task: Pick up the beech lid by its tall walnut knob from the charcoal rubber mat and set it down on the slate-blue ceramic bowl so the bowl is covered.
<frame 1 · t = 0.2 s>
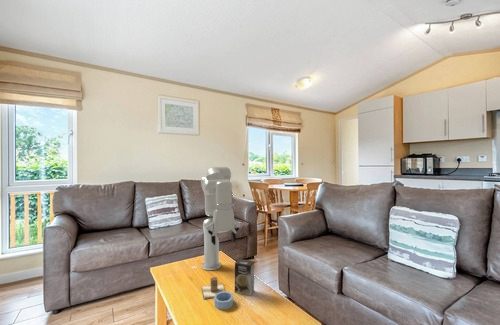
hand: (223, 242, 113), 30 cm above the table, fingers open, 9 cm apart
mat: (213, 292, 124), on the table
coffee box: (244, 292, 125), on the table
lid: (213, 291, 124), point 1 cm above the table, touching mat
bowl: (223, 304, 114), on the table
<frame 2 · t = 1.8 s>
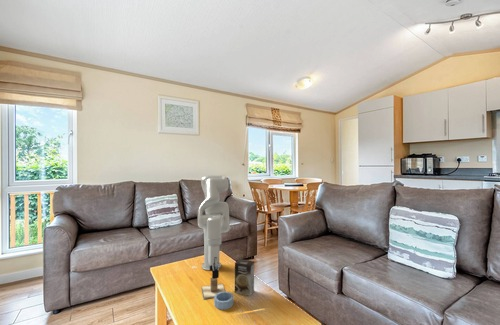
hand: (214, 273, 124), 10 cm above the table, fingers open, 9 cm apart
nothing on the table moved.
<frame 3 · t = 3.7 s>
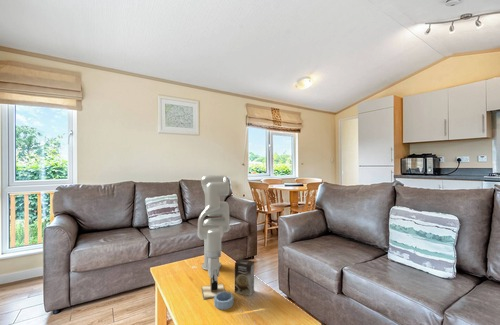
hand: (213, 287, 124), 3 cm above the table, fingers closed on lid, 3 cm apart
lid: (213, 291, 124), point 1 cm above the table, touching gripper, mat
everything else where it was.
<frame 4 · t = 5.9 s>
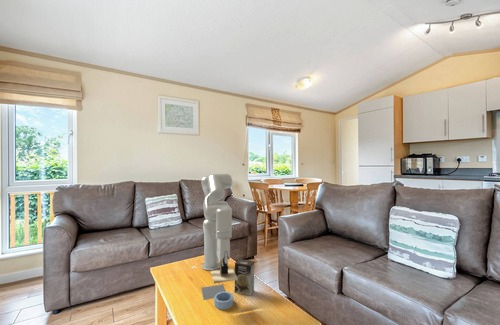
hand: (223, 271, 114), 16 cm above the table, fingers closed on lid, 3 cm apart
lid: (223, 276, 114), point 14 cm above the table, touching gripper
everything else where it was.
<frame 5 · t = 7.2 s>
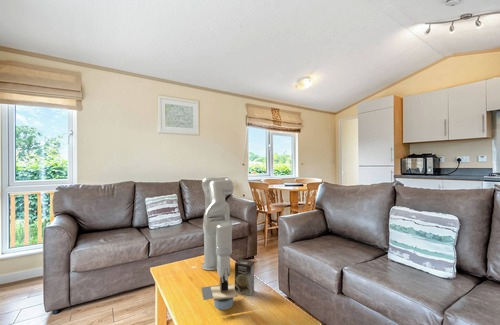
hand: (223, 287, 114), 8 cm above the table, fingers closed on lid, 3 cm apart
lid: (223, 292, 114), point 6 cm above the table, touching gripper
everything else where it was.
when the fingers open (7 cm above the table, at t = 8.1 s): lid drops 1 cm, resting on bowl.
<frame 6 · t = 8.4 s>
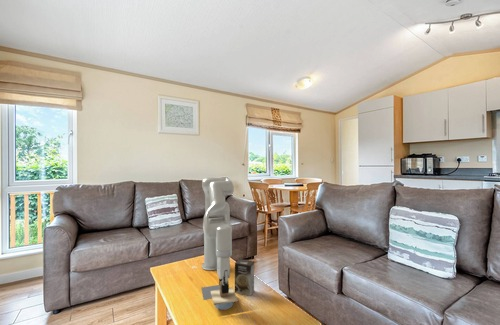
hand: (223, 288, 114), 8 cm above the table, fingers open, 6 cm apart
lid: (223, 296, 114), point 4 cm above the table, touching bowl
everything else where it was.
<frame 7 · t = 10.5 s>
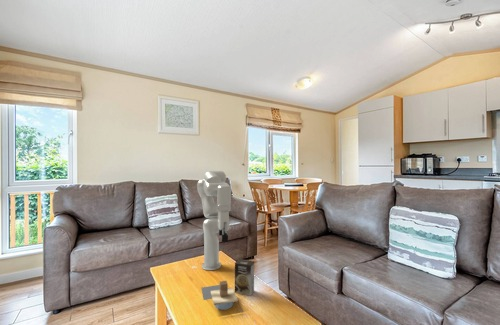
hand: (223, 238, 130), 27 cm above the table, fingers open, 9 cm apart
nothing on the table moved.
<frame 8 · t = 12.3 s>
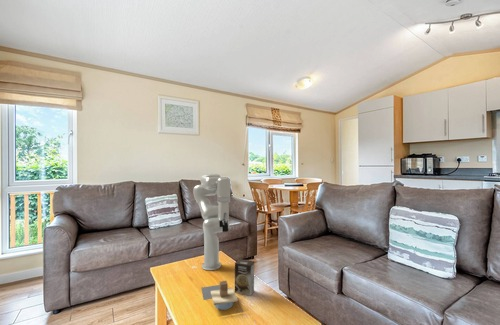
hand: (223, 229, 136), 30 cm above the table, fingers open, 9 cm apart
nothing on the table moved.
at the end: lid 0.1 cm off-centre on the bowl, point 4.0 cm above the bowl's base; lid tilted 0°; the gripper is holding nothing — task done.
